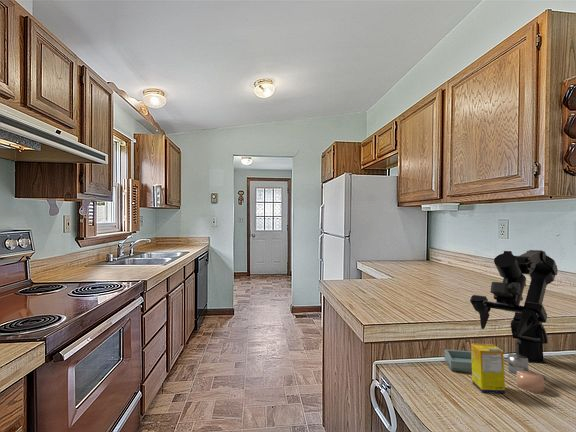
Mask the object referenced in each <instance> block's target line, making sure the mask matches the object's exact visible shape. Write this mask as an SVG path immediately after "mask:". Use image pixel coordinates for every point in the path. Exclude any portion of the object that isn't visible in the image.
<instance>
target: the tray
mask: <svg viewBox="0 0 576 432" xmlns="http://www.w3.org/2000/svg"><path fill="white" fill-rule="evenodd" d="M445 359H446V360H445ZM444 360H445V362H446V364H447V366H448V368H449V370H450V371H451V372H456V371H462V372H461V373H466V372H472V360H471V350H470V351H467V350H457V349H446V348H445V349H444Z"/></svg>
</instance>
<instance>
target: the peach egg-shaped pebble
mask: <svg viewBox="0 0 576 432" xmlns="http://www.w3.org/2000/svg"><path fill="white" fill-rule="evenodd" d="M516 373H517V375H516V386H517V387H518V389H520V388H521V390H522V389H523V390H522V391H524V390H526V391H525V392H527V391H529V392H528V393H532V392H535V393H534V394H542V393H541V392H543V393H545V378H544V376H543V375H542V374H540V373H537V372H536V371H535V372H534V371H530V370H529V371H517V372H516Z"/></svg>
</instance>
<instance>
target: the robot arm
mask: <svg viewBox="0 0 576 432" xmlns="http://www.w3.org/2000/svg"><path fill="white" fill-rule="evenodd" d="M493 263H494V265H495V267H496V270H497V271H498V274H499V276H500V277H501V278H502V282H500V281H499V282H498V281H491V285H490V293H491V294H493V299H494V300H496V301H492V300H489V299H488V298H487V296H486V295H479V294H472V295H471V296H470V300H469V302H470V304H471V305H472V307H473V309H474V311H476V312H478V314H479V319H480V328H481V330H484V329H485V328H486V326H487V323H488V321H489V317H490V316H491V315H490V313H491V309H493V310H502V311H505V312H513V313H514V316H513V318H512V319H511V322H510V330H511V334H512V335H511V337H512V338H513V339H517V340H516V342H515V354H518V355H522V356H525V357H527V358H528V362H532V363H533V362H534V363H543V364H545V363H547V360H546V359H544V344H549V343H548V342H549V341H548V340H549V339H548V333H547V330H546V329H545V327H544V324H543V323H547V318H548V314H547V311H546V309H545V307H544V305H543V302H544V297H545V293H546V289H547V286H548V285H549V284H551V283H553V282H554V281H555V278H556V276H557V275H558V266H557V264H556V261H555V259H554V258H551V257H550V256H548V255H547V254H546V252H545V250H544V251H543V250H538V249H530V250H527V251H526V252H524V253H522V254H520V255H514V254H513V252H512V251H511V250H504V251H503V253H500V254H498V255H497V256H495V257H494V258H493ZM525 275H529V278H530V282H529V286H528V290H527V293H526V297H525V301H524V304H523V305H521V304H520V303H521V301H523V299H524V297H523V293H524V290H525V287H526V286H527V283H526V281H527V278H526V277H527V276H525Z"/></svg>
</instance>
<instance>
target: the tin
mask: <svg viewBox="0 0 576 432" xmlns="http://www.w3.org/2000/svg"><path fill="white" fill-rule="evenodd" d="M507 365H508V366H507V367H508V369H507V370H508V372H509V373H511V374H513V375H516V376H517V373H516V372H517V371H530V370H529V361H528V358H527V357H525V356H522V355H518V354H516V353H508V354H507Z"/></svg>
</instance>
